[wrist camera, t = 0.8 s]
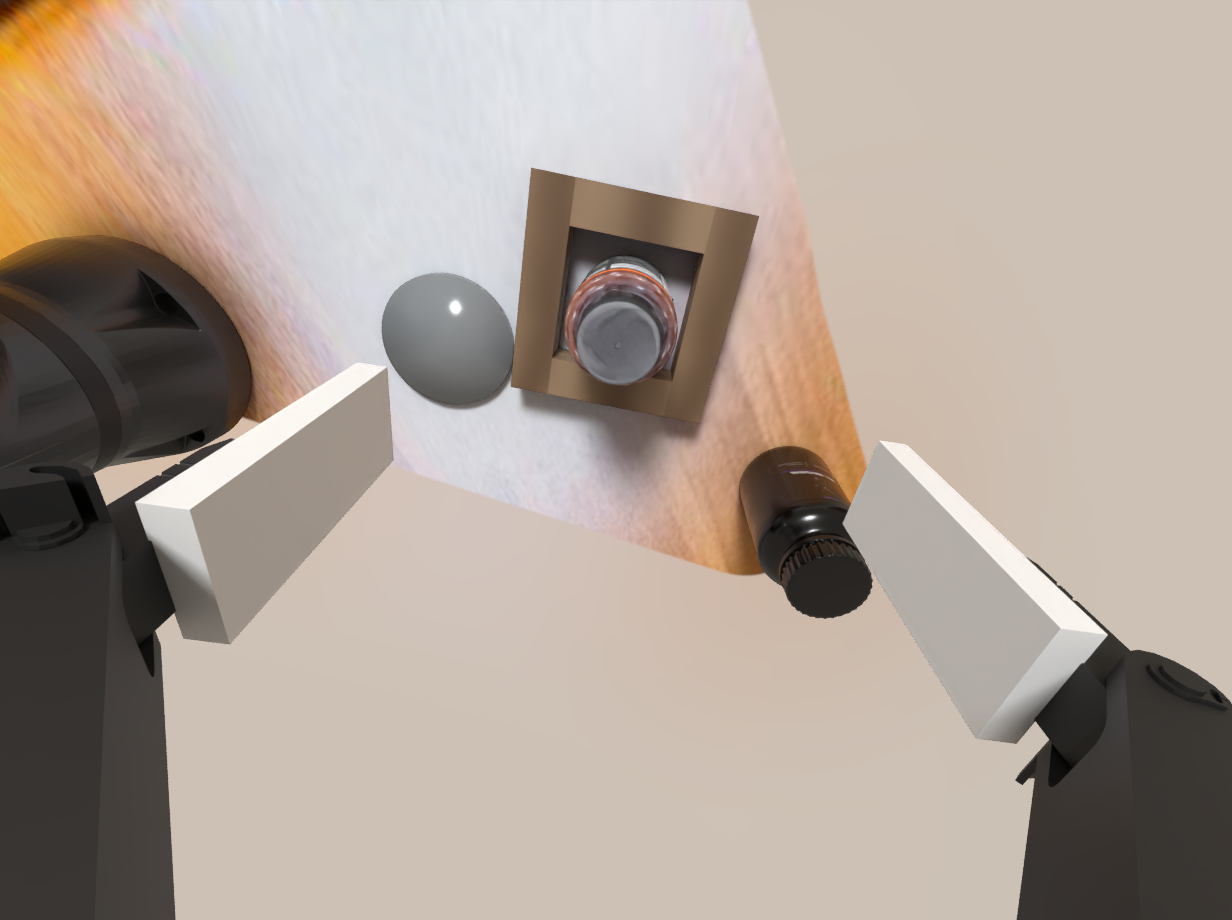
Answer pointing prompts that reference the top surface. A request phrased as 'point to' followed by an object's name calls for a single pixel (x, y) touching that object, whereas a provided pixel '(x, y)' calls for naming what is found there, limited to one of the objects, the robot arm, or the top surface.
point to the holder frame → (641, 218)
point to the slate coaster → (447, 338)
